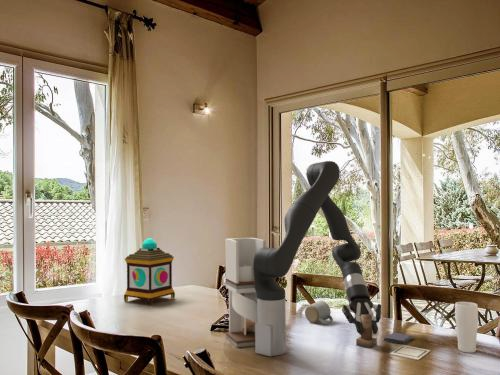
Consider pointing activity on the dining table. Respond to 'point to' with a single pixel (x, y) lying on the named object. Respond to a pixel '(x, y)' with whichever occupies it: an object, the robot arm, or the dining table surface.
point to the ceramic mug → (318, 313)
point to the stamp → (366, 333)
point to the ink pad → (398, 338)
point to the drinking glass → (466, 325)
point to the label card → (410, 352)
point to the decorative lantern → (149, 273)
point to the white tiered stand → (241, 289)
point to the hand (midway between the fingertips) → (368, 332)
